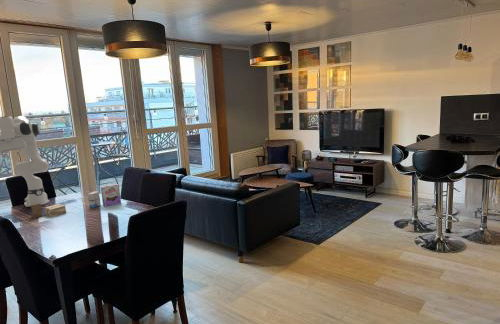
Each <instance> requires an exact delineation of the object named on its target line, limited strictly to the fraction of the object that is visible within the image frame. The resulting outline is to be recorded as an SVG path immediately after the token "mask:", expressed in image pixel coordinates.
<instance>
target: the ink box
mask: <svg viewBox="0 0 500 324" xmlns="http://www.w3.org/2000/svg"><path fill="white" fill-rule="evenodd" d="M100 198H101V196H100V191H92V192H89V193H87V199H88V205H89V208H97V207H98V206H101V199H100Z"/></svg>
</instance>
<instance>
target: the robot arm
mask: <svg viewBox="0 0 500 324" xmlns="http://www.w3.org/2000/svg"><path fill="white" fill-rule="evenodd" d="M40 133H41V126H40V125H39V124H38V123H37V122H36V123H35V122H32V123H31V122H30V120H29V119H28V117H26V116H23V115H19V116H15V117H12V116H9V115H8V116H7V115H5V116H0V154H1V155H2V158H3V159H5V158H7V155H6V154H4V152H9V151H15V150H18V151H16V155H18V156H21V152H22V154H23V155H24V156H25V157H27V158H30V159H31V160H28V161H27V160H26V161H20V162H17V163H16V164H15V165H14V172H15V173H16V174H18V175H20V176H21V177H23V178H24V179H25V182H26V184H27V196H26V197H25V198H24V206H25V207H31V204H35V203H40V204H41V206H42V205H46V204H48V203H49V202H50V200H49V199H48V194H47V193H46V192H45V188H44V185H43V179H41V177H38V176H36V175H34V174H39V173H44V172H47V171H48V170H49V168H50V164H49V162H48V161H47V160H45V159H44V158H42V157H41V155H40V153H39V150H38V143H37V138H36V137H37V136H38V135H40Z"/></svg>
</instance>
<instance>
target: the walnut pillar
mask: <svg viewBox="0 0 500 324" xmlns="http://www.w3.org/2000/svg"><path fill="white" fill-rule="evenodd" d="M30 208H31V213H32V214H31V215H32V218H34V219H37V218H40V217H43V212H42V211H43V210H42V205H41V204H40V203H35V204H31V206H30Z"/></svg>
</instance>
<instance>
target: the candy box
mask: <svg viewBox="0 0 500 324" xmlns="http://www.w3.org/2000/svg"><path fill="white" fill-rule="evenodd" d="M100 191H101V193H100V194H101V199H102V206H103V207H109V206H115V205H119V204H122V201H121V200H122V199H121V191H120V185H119V184H118V183H116V184H115V183H114V184H109V185H100Z"/></svg>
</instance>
